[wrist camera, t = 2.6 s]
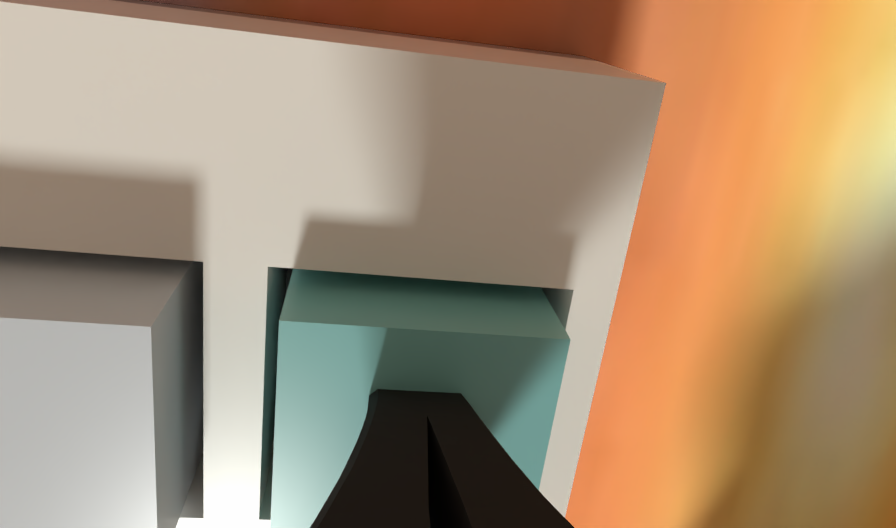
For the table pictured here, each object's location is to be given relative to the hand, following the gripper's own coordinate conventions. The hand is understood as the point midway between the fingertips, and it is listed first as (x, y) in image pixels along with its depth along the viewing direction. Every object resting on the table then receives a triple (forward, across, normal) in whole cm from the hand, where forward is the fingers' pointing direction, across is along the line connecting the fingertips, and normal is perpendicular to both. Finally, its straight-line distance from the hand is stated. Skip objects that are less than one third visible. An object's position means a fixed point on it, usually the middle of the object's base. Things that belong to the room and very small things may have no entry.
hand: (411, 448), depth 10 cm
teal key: (+3, 0, 0) cm, 3 cm away
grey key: (+3, +6, 0) cm, 6 cm away
